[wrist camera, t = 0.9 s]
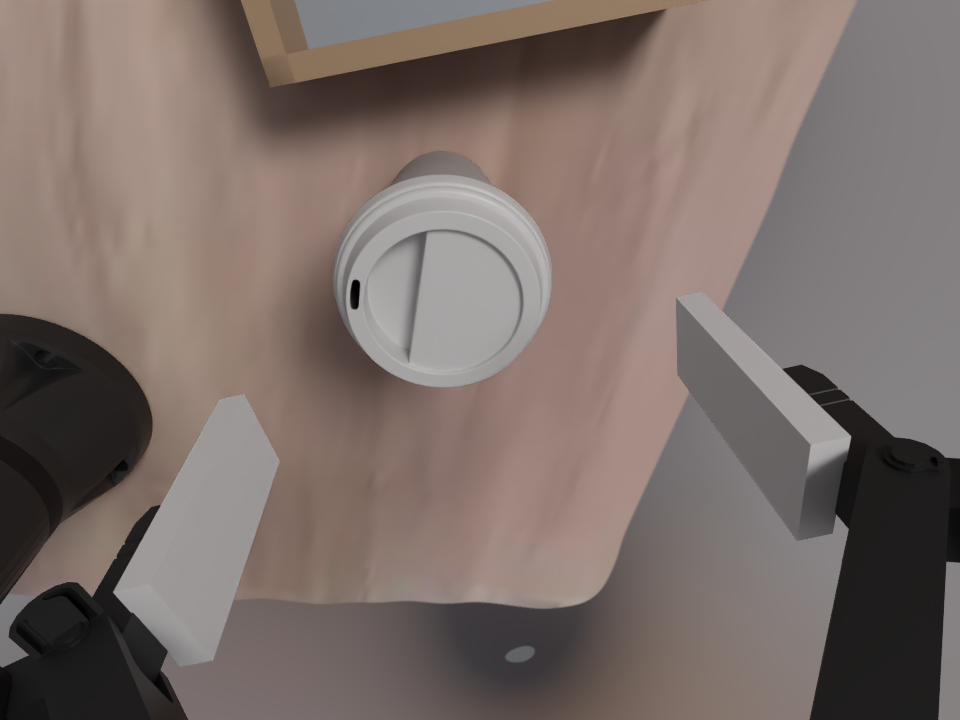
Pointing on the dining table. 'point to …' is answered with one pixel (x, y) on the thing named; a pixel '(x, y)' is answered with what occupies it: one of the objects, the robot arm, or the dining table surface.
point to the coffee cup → (442, 274)
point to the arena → (407, 29)
